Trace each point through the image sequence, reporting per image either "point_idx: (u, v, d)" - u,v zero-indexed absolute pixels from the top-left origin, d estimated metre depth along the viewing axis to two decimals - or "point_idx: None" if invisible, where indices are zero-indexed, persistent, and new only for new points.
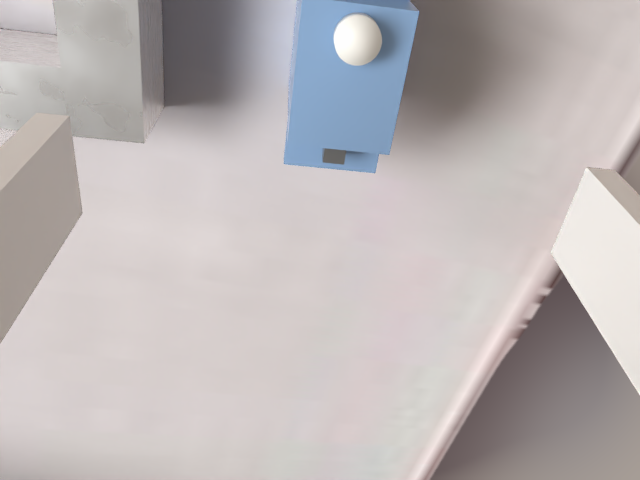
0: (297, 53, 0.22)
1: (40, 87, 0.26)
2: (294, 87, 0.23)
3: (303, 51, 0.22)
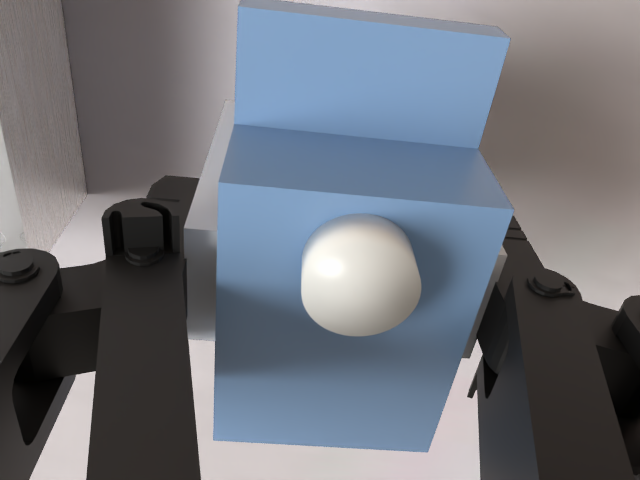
0: (218, 293, 0.10)
1: None
2: (218, 352, 0.10)
3: (232, 289, 0.09)
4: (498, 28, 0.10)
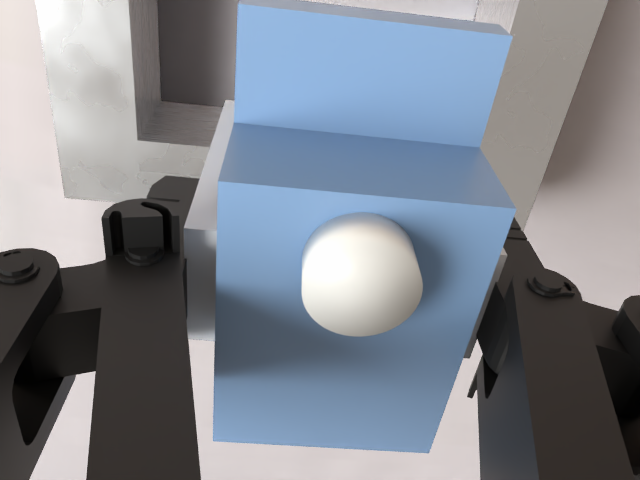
0: (218, 293, 0.09)
1: None
2: (217, 353, 0.10)
3: (232, 289, 0.09)
4: (500, 26, 0.10)
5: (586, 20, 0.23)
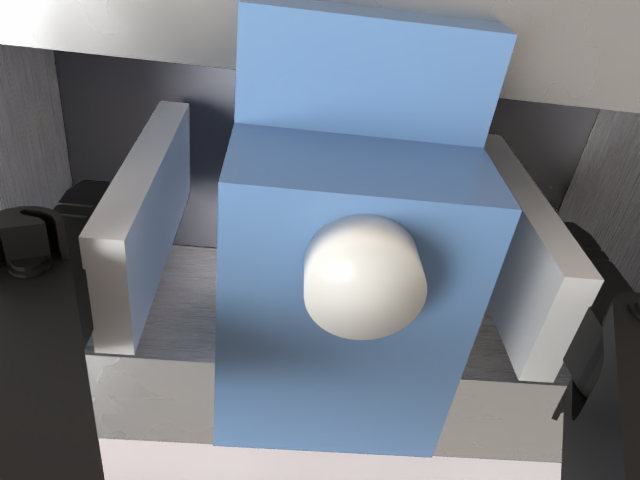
0: (218, 296, 0.09)
1: (546, 411, 0.16)
2: (218, 356, 0.10)
3: (232, 292, 0.09)
4: (504, 24, 0.10)
5: None
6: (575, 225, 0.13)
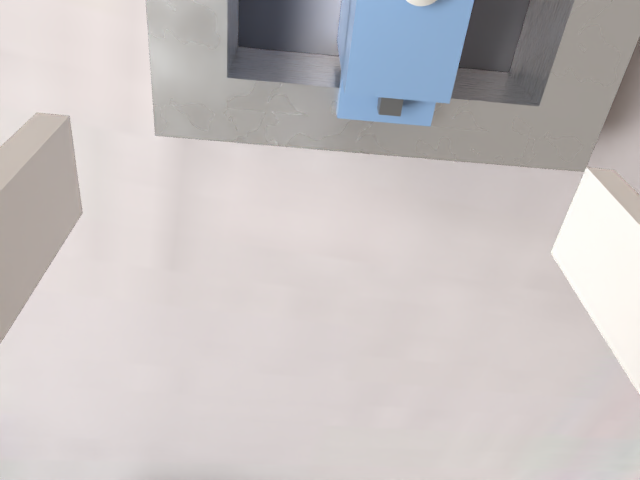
0: None
1: (512, 124, 0.28)
2: (353, 32, 0.22)
3: None
4: None
5: None
6: None
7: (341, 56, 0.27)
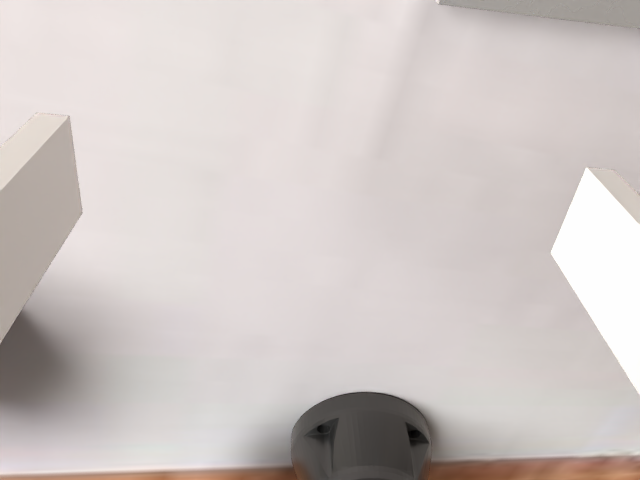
0: None
1: None
2: None
3: None
4: None
5: None
6: None
7: None
